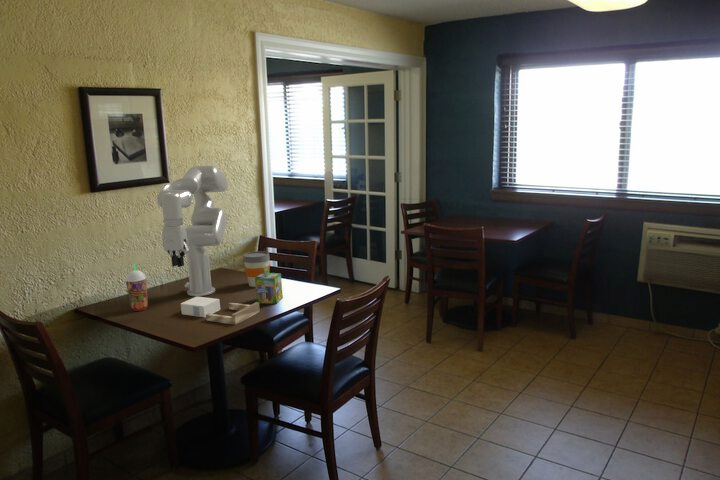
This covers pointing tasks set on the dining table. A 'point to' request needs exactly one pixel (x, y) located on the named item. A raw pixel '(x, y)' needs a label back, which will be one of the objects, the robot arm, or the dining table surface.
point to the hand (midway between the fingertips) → (178, 265)
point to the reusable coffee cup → (255, 265)
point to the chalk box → (268, 287)
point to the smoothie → (137, 290)
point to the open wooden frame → (241, 315)
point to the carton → (200, 306)
